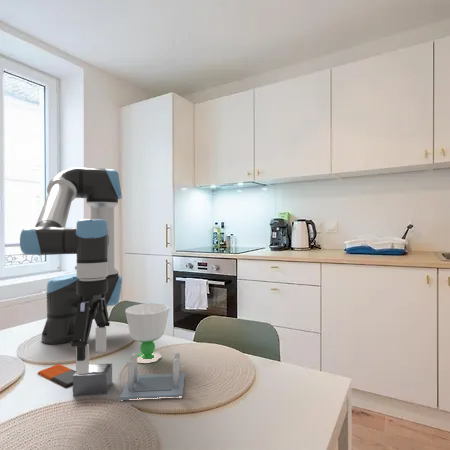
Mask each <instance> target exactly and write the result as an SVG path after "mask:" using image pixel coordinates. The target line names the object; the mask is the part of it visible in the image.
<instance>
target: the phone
mask: <svg viewBox="0 0 450 450" xmlns="http://www.w3.org/2000/svg"><path fill="white" fill-rule="evenodd" d="M75 373H76V370H74V369H72V368H70V367H67V366H65V365H62V364H60V363H58V364H57V363H56V364H55V365H52V366H50V367H47V368H45V369H41V370H39V371H38V372H37V375H38V376H41V377H42V378H45V379H46V380H49V381H51V382H52V383H55V384H56V385H58V386H60V387H62V388H64V389H68V388H71V387H73V375H74V374H75Z"/></svg>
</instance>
